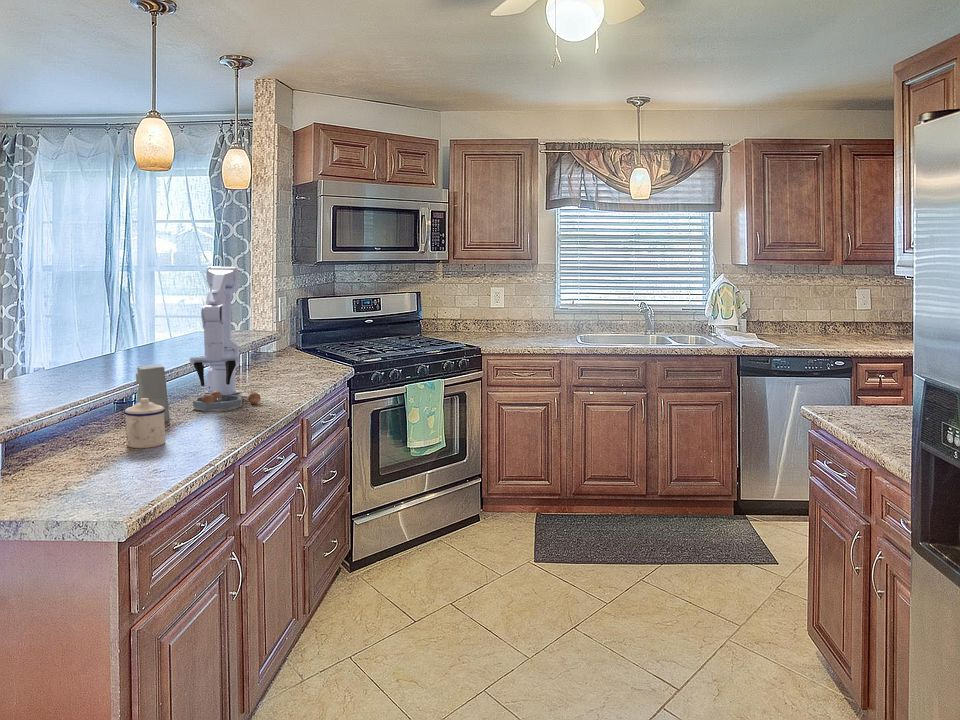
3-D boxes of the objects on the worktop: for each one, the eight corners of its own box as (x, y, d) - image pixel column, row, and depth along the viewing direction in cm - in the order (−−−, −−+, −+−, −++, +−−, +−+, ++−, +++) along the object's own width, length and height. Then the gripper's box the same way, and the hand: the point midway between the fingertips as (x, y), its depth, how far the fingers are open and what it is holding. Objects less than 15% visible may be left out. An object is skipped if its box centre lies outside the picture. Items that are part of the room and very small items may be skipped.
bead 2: (245, 404, 220) (245, 392, 220) (254, 402, 224) (254, 391, 223) (254, 405, 219) (254, 394, 218) (263, 403, 222) (263, 392, 221)
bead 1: (207, 403, 217) (206, 391, 217) (217, 400, 221) (216, 389, 220) (215, 404, 216) (214, 392, 215) (225, 402, 219) (224, 390, 218)
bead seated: (199, 406, 212) (199, 394, 211) (209, 404, 215) (209, 392, 215) (207, 407, 210) (207, 395, 210) (217, 405, 213) (217, 393, 213)
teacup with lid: (139, 438, 176) (137, 394, 174) (173, 440, 175) (171, 395, 173) (110, 451, 164) (108, 403, 162) (147, 453, 163) (144, 405, 161)
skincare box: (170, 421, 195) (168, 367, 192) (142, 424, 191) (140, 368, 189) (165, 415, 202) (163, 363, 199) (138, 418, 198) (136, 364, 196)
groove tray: (184, 407, 213) (184, 399, 213) (220, 400, 225) (220, 392, 225) (215, 413, 206) (214, 405, 206) (250, 405, 219) (250, 397, 218)
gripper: (191, 345, 209) (193, 388, 211) (240, 343, 216) (241, 385, 218) (188, 342, 215) (189, 384, 217) (235, 340, 222) (236, 381, 224)
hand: (215, 384), depth 218 cm, fingers open, 7 cm apart
